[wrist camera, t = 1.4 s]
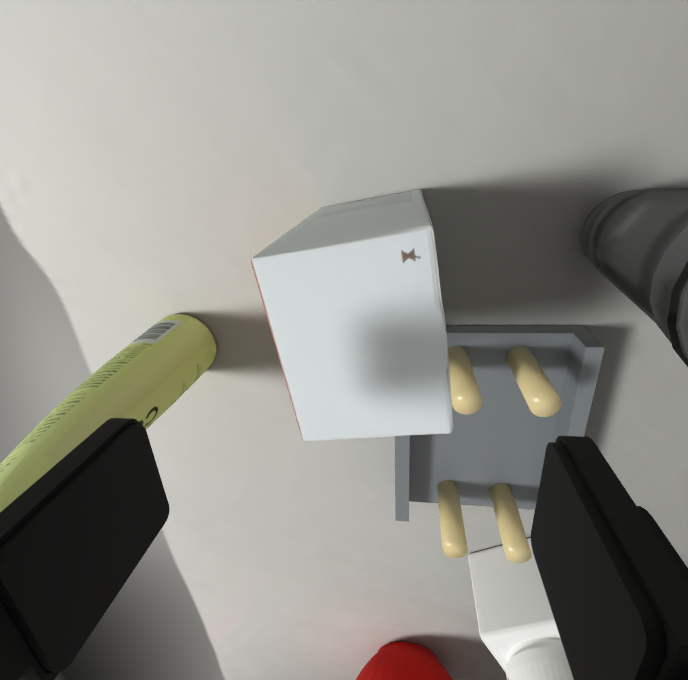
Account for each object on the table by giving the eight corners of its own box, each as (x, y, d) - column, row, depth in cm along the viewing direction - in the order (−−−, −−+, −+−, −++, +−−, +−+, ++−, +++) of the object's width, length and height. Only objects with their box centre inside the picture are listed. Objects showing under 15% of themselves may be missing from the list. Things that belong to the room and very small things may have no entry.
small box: (319, 206, 25) (244, 254, 13) (422, 186, 24) (437, 220, 12) (344, 324, 28) (301, 446, 17) (436, 313, 27) (459, 436, 15)
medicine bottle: (576, 583, 36) (649, 769, 25) (498, 601, 38) (535, 777, 27) (546, 531, 34) (612, 709, 23) (466, 552, 36) (491, 723, 25)
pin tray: (395, 325, 28) (392, 373, 22) (583, 325, 26) (636, 378, 20) (396, 489, 34) (394, 561, 28) (547, 498, 32) (580, 578, 26)
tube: (218, 383, 32) (-11, 663, 14) (157, 370, 32) (-138, 629, 15) (219, 318, 29) (-55, 562, 12) (153, 305, 30) (-208, 523, 12)
